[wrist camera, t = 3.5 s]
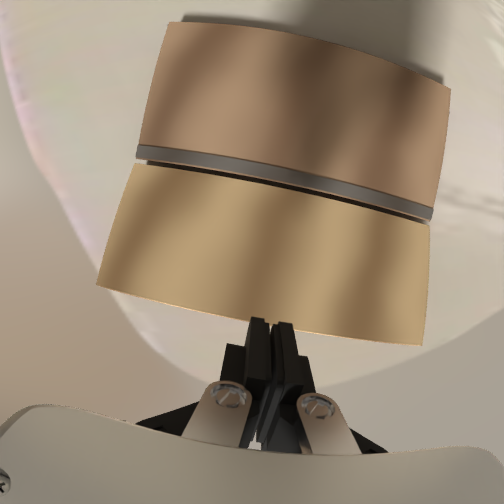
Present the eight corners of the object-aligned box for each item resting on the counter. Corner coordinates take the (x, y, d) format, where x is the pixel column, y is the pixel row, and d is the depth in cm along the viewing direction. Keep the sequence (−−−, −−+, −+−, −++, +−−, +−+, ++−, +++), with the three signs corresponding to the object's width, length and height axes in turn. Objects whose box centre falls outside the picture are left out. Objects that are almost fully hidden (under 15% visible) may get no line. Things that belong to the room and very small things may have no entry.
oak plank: (418, 232, 19) (429, 226, 18) (409, 345, 17) (422, 345, 16) (140, 174, 19) (134, 163, 18) (105, 288, 17) (95, 284, 16)
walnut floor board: (440, 92, 17) (451, 88, 15) (420, 217, 19) (430, 221, 18) (175, 30, 17) (168, 21, 15) (144, 159, 19) (135, 158, 18)
